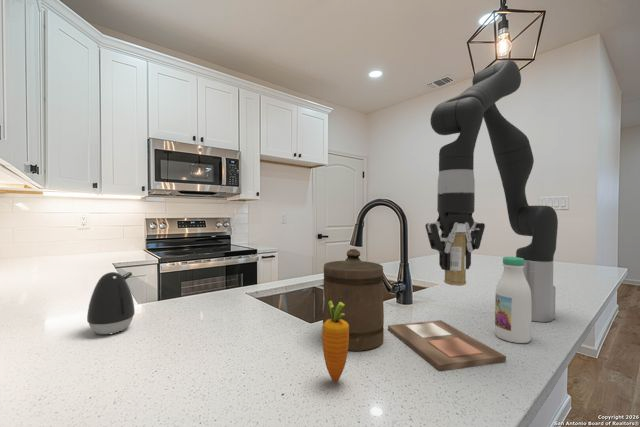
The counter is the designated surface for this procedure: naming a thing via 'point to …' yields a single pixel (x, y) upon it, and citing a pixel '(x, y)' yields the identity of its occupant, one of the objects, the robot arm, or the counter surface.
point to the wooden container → (356, 299)
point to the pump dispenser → (111, 304)
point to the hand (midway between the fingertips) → (454, 268)
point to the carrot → (335, 342)
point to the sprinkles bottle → (457, 258)
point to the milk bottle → (513, 303)
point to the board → (445, 345)
